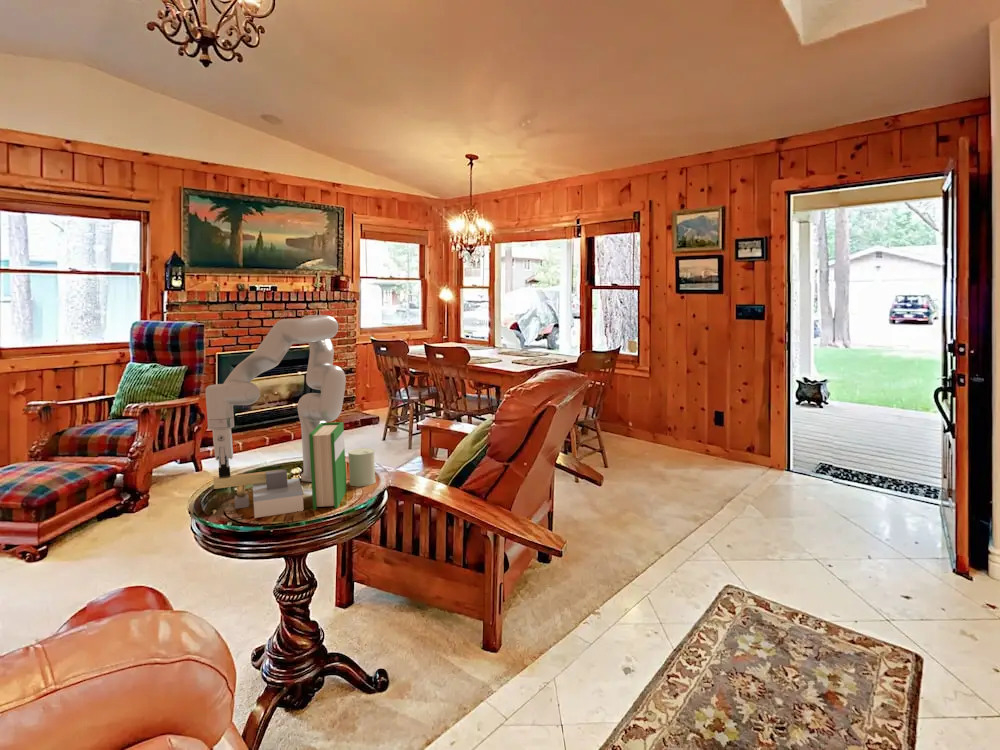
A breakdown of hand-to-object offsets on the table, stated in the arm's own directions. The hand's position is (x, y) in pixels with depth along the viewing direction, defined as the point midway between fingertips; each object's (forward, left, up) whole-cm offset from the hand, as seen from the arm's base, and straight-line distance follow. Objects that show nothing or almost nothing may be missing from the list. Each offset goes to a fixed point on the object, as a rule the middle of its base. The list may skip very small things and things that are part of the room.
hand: (224, 479), depth 181 cm
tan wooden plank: (-7, +5, -5) cm, 10 cm away
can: (-44, -3, -8) cm, 45 cm away
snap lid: (-15, +11, -3) cm, 19 cm away
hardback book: (-31, +11, -8) cm, 34 cm away
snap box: (-12, +10, -8) cm, 18 cm away
